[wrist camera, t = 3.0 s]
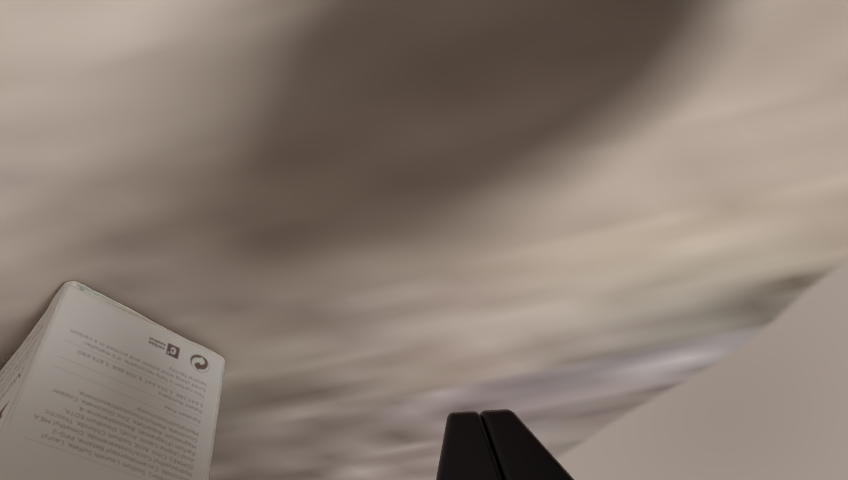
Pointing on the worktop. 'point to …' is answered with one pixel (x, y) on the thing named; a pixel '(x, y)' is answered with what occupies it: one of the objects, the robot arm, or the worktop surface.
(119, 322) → the skincare box
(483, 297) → the worktop surface
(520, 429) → the robot arm
